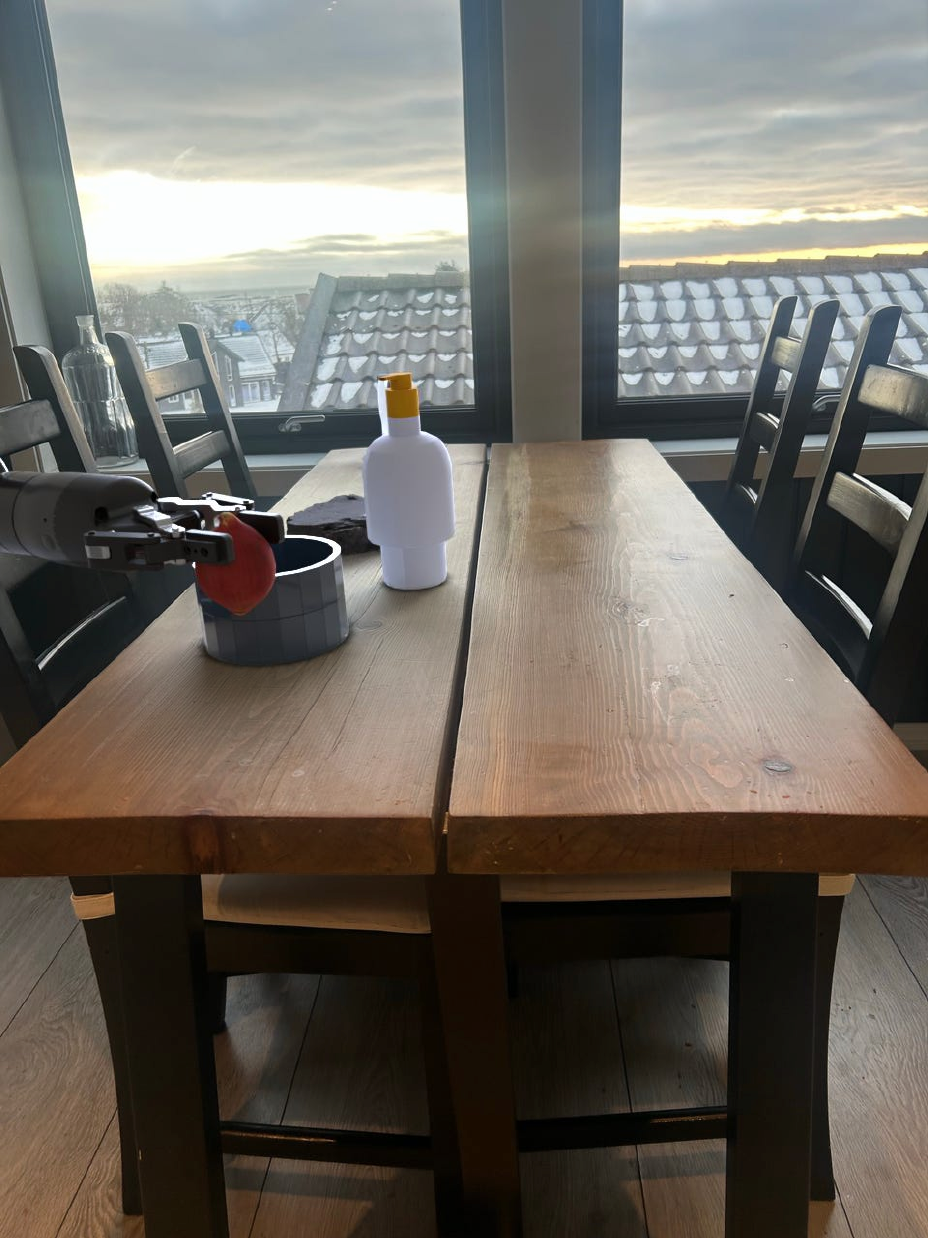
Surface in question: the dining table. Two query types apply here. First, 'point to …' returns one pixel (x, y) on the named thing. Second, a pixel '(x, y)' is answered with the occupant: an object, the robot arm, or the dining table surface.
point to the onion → (239, 568)
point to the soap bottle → (408, 493)
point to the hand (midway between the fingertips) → (256, 539)
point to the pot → (284, 609)
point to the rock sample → (335, 523)
